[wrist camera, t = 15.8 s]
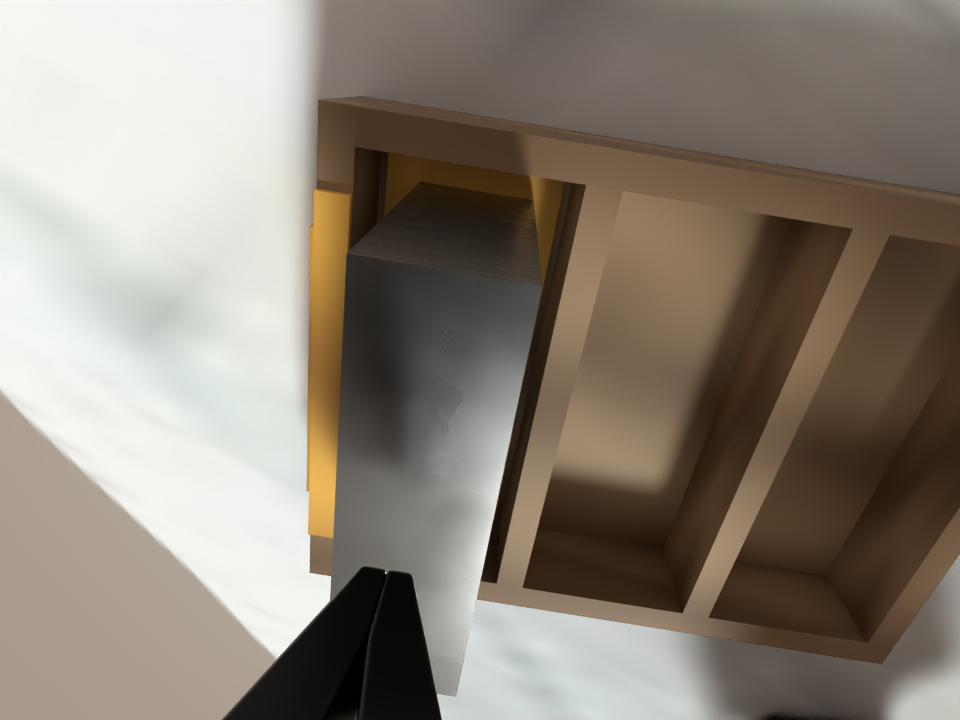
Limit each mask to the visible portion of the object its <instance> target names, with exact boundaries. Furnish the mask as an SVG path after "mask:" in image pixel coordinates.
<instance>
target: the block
mask: <svg viewBox="0 0 960 720" xmlns="http://www.w3.org/2000/svg"><path fill="white" fill-rule="evenodd" d="M541 291H542V276H541V267H540V257H539V247H538V238H537V228H536V218H535V208H534V200H529V199H523V198H517V197H511V196H505V195H499V194H493V193H487V192H481V191H475V190H469V189H463V188H457V187H451V186H445V185H439V184H433V183H427V182H419V183H418V184H417V185H416V186H415V187H414V188H413V189H412V190H411V191H410V192H409V193H408V194H407V195H406V196H405V197H404V198H403V199H402V200H401V201H400V202H399V203H398V204H397V205H396V206H395V207H394V208H393V209H392V210H391V211H390V212H389V213H388V214H387V215H386V216H384V217H383V218H382V219H381V220H380V221H379V222H378V223H377V224H376V225H375V226H374V227H373V228H372V229H371V230H370V231H369V232H368V233H367V234H366V235H365V236H364V237H363V238H362V239H361V240H360V241H359V242H358V243H357V244H356V245H355V246H354V247H353V248H352V249H351V250H349V251H348V252H347V254H346V275H345V296H344V318H343V339H342V360H341V382H340V403H339V424H338V446H337V467H336V489H335V510H334V531H333V553H332V574H331V595H330V601H331V599H332V598H333V597H334V596H335V595H336V594H337V593H338V592H339V591H340V590H341V589H342V587H343V586H344V585H345V584H346V583H347V582H348V581H349V580H350V579H351V578H352V576H353V575H354V574H355V573H356V572H357V571H358V570H359V569H360V568H361V567H364V566H368V567H375V568H381V569H384V570H385V571H386V572H387V573H388V571H390V570H394V571H400V572H406V573H410V574H412V576H413V579H414V584H415V589H416V594H417V599H418V604H419V609H420V614H421V619H422V624H423V629H424V634H425V639H426V644H427V649H428V654H429V659H430V664H431V669H432V674H433V679H434V684H435V689H436V694H443V695H449V696H455V697H456V694H457V690H458V685H459V680H460V675H461V671H462V666H463V661H464V656H465V652H466V647H467V642H468V637H469V633H470V628H471V623H472V618H473V614H474V609H475V604H476V599H477V595H478V590H479V585H480V580H481V576H482V571H483V566H484V561H485V557H486V552H487V547H488V542H489V538H490V533H491V528H492V523H493V519H494V514H495V509H496V504H497V500H498V495H499V490H500V485H501V481H502V476H503V471H504V466H505V462H506V457H507V452H508V447H509V443H510V438H511V433H512V428H513V424H514V419H515V414H516V409H517V405H518V400H519V395H520V390H521V386H522V381H523V376H524V371H525V367H526V362H527V357H528V352H529V348H530V343H531V338H532V333H533V329H534V324H535V319H536V314H537V310H538V305H539V300H540V295H541Z"/></svg>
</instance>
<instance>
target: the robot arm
mask: <svg viewBox="0 0 960 720" xmlns="http://www.w3.org/2000/svg"><path fill="white" fill-rule="evenodd" d="M222 720H442V718H441V714H440V709H439V704H438V699H437V694H436V689H435V684H434V679H433V674H432V669H431V664H430V659H429V654H428V649H427V644H426V639H425V634H424V629H423V624H422V619H421V614H420V609H419V604H418V599H417V594H416V589H415V584H414V579H413V576H412V574H410V573H406V572H400V571H394V570H390V571H388V573H387V572H386V571H385V570H384V569H381V568H375V567H368V566H364V567H361V568H360V569H359V570H358V571H357V572H356V573H355V574H354V575H353V576H352V578H351V579H350V580H349V581H348V582H347V583H346V584H345V585H344V586H343V587H342V589H341V590H340V591H339V592H338V593H337V594H336V595H335V596H334V597H333V598H332V599H331V601H330V602H329V603H328V604H327V605H326V606H325V607H324V608H323V609H322V610H321V612H320V613H319V614H318V615H317V616H316V617H315V618H314V619H313V620H312V621H311V622H310V624H309V625H308V626H307V627H306V628H305V629H304V630H303V631H302V632H301V633H300V635H299V636H298V637H297V638H296V639H295V640H294V641H293V642H292V643H291V644H290V645H289V647H288V648H287V649H286V650H285V651H284V652H283V653H282V654H281V655H280V656H279V658H278V659H277V660H276V661H275V662H274V663H273V664H272V665H271V666H270V668H269V669H268V670H267V671H266V672H265V673H264V674H263V675H262V676H261V677H260V678H259V679H258V681H257V682H256V683H255V684H254V685H253V686H252V687H251V688H250V689H249V691H248V692H247V693H246V694H245V695H244V696H243V697H242V698H241V699H240V700H239V701H238V703H237V704H236V705H235V706H234V707H233V708H232V709H231V710H230V711H229V712H228V713H227V715H226V716H225V717H224V718H223V719H222ZM767 720H791V719H785V718H779V717H773V718H769V719H767Z"/></svg>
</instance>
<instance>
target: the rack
mask: <svg viewBox="0 0 960 720" xmlns="http://www.w3.org/2000/svg"><path fill="white" fill-rule="evenodd" d="M419 182H427V183H433V184H439V185H445V186H451V187H457V188H463V189H469V190H475V191H481V192H487V193H493V194H499V195H505V196H511V197H517V198H523V199H529V200H534V208H535V218H536V228H537V238H538V247H539V257H540V267H541V276H542V291H541V295H540V300H539V305H538V310H537V314H536V319H535V324H534V329H533V333H532V338H531V343H530V348H529V352H528V357H527V362H526V367H525V371H524V376H523V381H522V386H521V390H520V395H519V400H518V405H517V409H516V414H515V419H514V424H513V428H512V433H511V438H510V443H509V447H508V452H507V457H506V462H505V466H504V471H503V476H502V481H501V485H500V490H499V495H498V500H497V504H496V509H495V514H494V519H493V523H492V528H491V533H490V538H489V542H488V547H487V552H486V557H485V561H484V566H483V571H482V576H481V580H480V585H479V590H478V595H477V599H478V600H484V601H490V602H496V603H503V604H509V605H515V606H521V607H528V608H534V609H540V610H546V611H553V612H559V613H565V614H571V615H578V616H584V617H590V618H596V619H603V620H609V621H615V622H621V623H628V624H634V625H640V626H646V627H653V628H659V629H665V630H671V631H678V632H684V633H690V634H696V635H703V636H709V637H715V638H722V639H728V640H734V641H740V642H747V643H753V644H759V645H765V646H772V647H778V648H784V649H790V650H797V651H803V652H809V653H815V654H822V655H828V656H834V657H840V658H847V659H853V660H859V661H865V662H872V663H878V664H882V663H883V661H884V660H885V658H886V657H887V655H888V654H889V653H890V651H891V650H892V648H893V647H894V646H895V644H896V643H897V641H898V640H899V639H900V637H901V636H902V634H903V633H904V632H905V630H906V629H907V627H908V626H909V624H910V623H911V622H912V620H913V619H914V617H915V616H916V615H917V613H918V612H919V610H920V609H921V608H922V606H923V605H924V603H925V602H926V601H927V599H928V598H929V596H930V595H931V594H932V592H933V591H934V589H935V588H936V586H937V585H938V584H939V582H940V581H941V579H942V578H943V577H944V575H945V574H946V572H947V571H948V570H949V568H950V567H951V565H952V564H953V563H954V561H955V560H956V558H957V557H958V556H959V554H960V195H956V194H950V193H944V192H938V191H932V190H926V189H920V188H914V187H907V186H901V185H895V184H889V183H883V182H877V181H871V180H865V179H859V178H853V177H847V176H841V175H835V174H829V173H823V172H816V171H810V170H804V169H798V168H792V167H786V166H780V165H774V164H768V163H762V162H756V161H750V160H744V159H738V158H732V157H725V156H719V155H713V154H707V153H701V152H695V151H689V150H683V149H677V148H671V147H665V146H659V145H653V144H647V143H641V142H634V141H628V140H622V139H616V138H610V137H604V136H598V135H592V134H586V133H580V132H574V131H568V130H562V129H556V128H550V127H543V126H537V125H531V124H525V123H519V122H513V121H507V120H501V119H495V118H489V117H483V116H477V115H471V114H465V113H459V112H452V111H446V110H440V109H434V108H428V107H422V106H416V105H410V104H404V103H398V102H392V101H386V100H380V99H374V98H368V97H349V98H337V99H325V100H318V153H317V189H315V190H314V213H313V225H311V226H310V288H309V360H308V433H307V491H309V523H308V534H310V573H315V574H321V575H327V576H331V574H332V553H333V531H334V510H335V489H336V467H337V446H338V424H339V403H340V382H341V360H342V339H343V318H344V296H345V275H346V254H347V252H348V251H349V250H351V249H352V248H353V247H354V246H355V245H356V244H357V243H358V242H359V241H360V240H361V239H362V238H363V237H364V236H365V235H366V234H367V233H368V232H369V231H370V230H371V229H372V228H373V227H374V226H375V225H376V224H377V223H378V222H379V221H380V220H381V219H382V218H383V217H384V216H386V215H387V214H388V213H389V212H390V211H391V210H392V209H393V208H394V207H395V206H396V205H397V204H398V203H399V202H400V201H401V200H402V199H403V198H404V197H405V196H406V195H407V194H408V193H409V192H410V191H411V190H412V189H413V188H414V187H415V186H416V185H417V184H418V183H419Z"/></svg>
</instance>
